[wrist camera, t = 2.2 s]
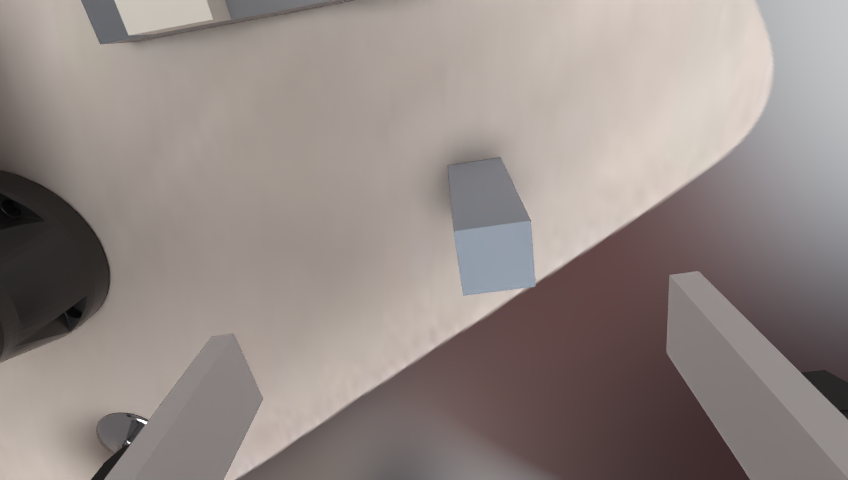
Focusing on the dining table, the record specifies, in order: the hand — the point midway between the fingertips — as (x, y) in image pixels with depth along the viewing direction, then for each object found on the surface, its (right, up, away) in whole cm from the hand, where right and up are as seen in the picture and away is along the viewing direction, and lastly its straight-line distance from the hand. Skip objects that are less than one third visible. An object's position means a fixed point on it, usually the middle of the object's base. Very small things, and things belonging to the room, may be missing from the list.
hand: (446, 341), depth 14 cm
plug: (+3, +7, +21) cm, 23 cm away
